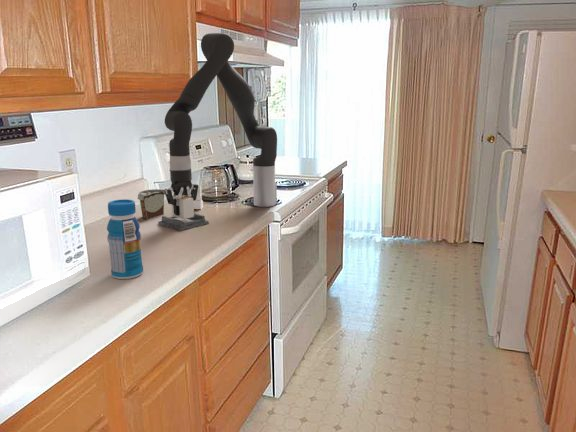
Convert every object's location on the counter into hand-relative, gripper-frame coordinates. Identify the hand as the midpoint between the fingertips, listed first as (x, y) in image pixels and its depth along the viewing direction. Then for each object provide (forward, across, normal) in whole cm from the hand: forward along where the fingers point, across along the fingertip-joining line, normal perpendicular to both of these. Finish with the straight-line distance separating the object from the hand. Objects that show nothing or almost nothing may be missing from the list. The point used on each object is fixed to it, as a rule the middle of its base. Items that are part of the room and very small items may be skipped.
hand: (183, 213), depth 179 cm
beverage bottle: (+4, +41, +30) cm, 51 cm away
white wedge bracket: (+4, -18, -16) cm, 25 cm away
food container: (+4, +2, -19) cm, 20 cm away
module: (+1, 0, 0) cm, 1 cm away
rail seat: (+4, 0, 0) cm, 4 cm away
